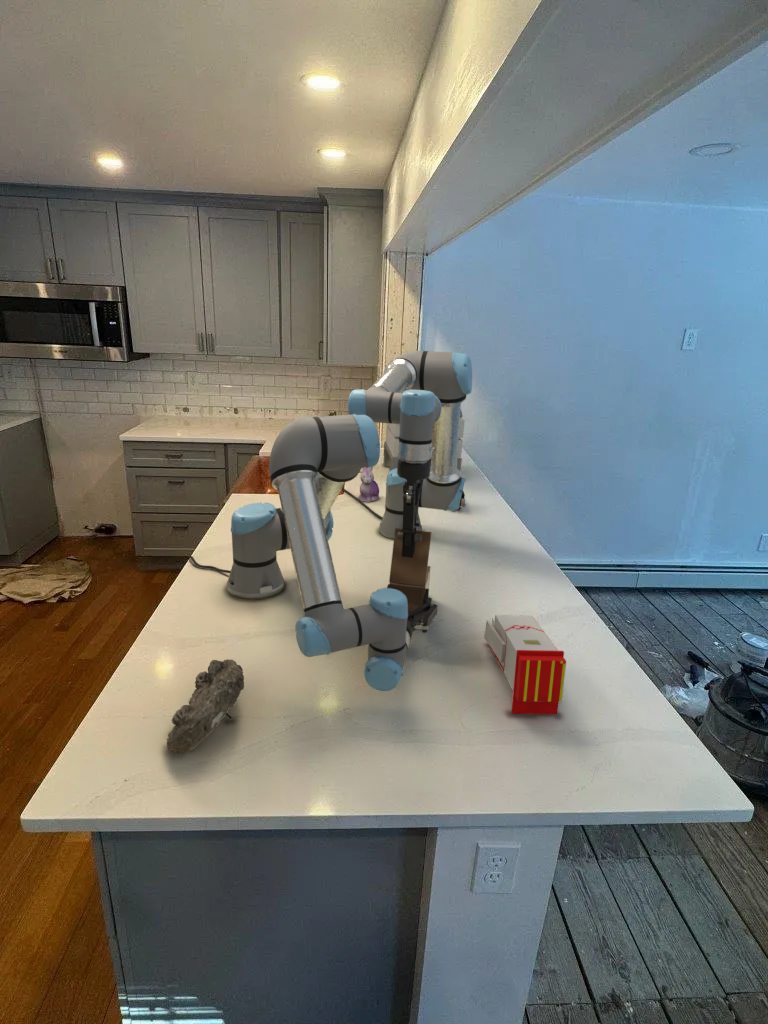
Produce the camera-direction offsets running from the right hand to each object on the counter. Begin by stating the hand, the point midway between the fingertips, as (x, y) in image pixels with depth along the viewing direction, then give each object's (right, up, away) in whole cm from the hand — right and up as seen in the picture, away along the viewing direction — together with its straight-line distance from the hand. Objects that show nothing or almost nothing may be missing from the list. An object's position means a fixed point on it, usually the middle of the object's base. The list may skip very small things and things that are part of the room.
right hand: (408, 554), depth 137 cm
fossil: (-39, -29, -29) cm, 56 cm away
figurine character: (+23, +12, +93) cm, 97 cm away
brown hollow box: (+1, -15, +14) cm, 21 cm away
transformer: (+11, +29, +138) cm, 141 cm away
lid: (+1, -1, +6) cm, 6 cm away
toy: (+24, -26, -12) cm, 37 cm away
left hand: (0, -10, +9) cm, 14 cm away
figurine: (-12, +16, +98) cm, 100 cm away
